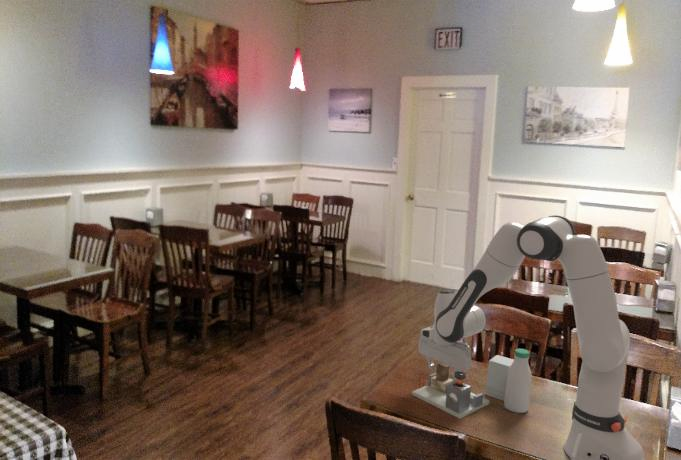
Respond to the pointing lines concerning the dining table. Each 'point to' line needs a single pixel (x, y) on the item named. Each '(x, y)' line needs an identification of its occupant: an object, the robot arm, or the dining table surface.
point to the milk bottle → (518, 383)
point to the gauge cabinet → (458, 397)
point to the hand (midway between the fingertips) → (442, 373)
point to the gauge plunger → (459, 379)
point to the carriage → (441, 377)
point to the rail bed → (439, 399)
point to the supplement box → (497, 376)
